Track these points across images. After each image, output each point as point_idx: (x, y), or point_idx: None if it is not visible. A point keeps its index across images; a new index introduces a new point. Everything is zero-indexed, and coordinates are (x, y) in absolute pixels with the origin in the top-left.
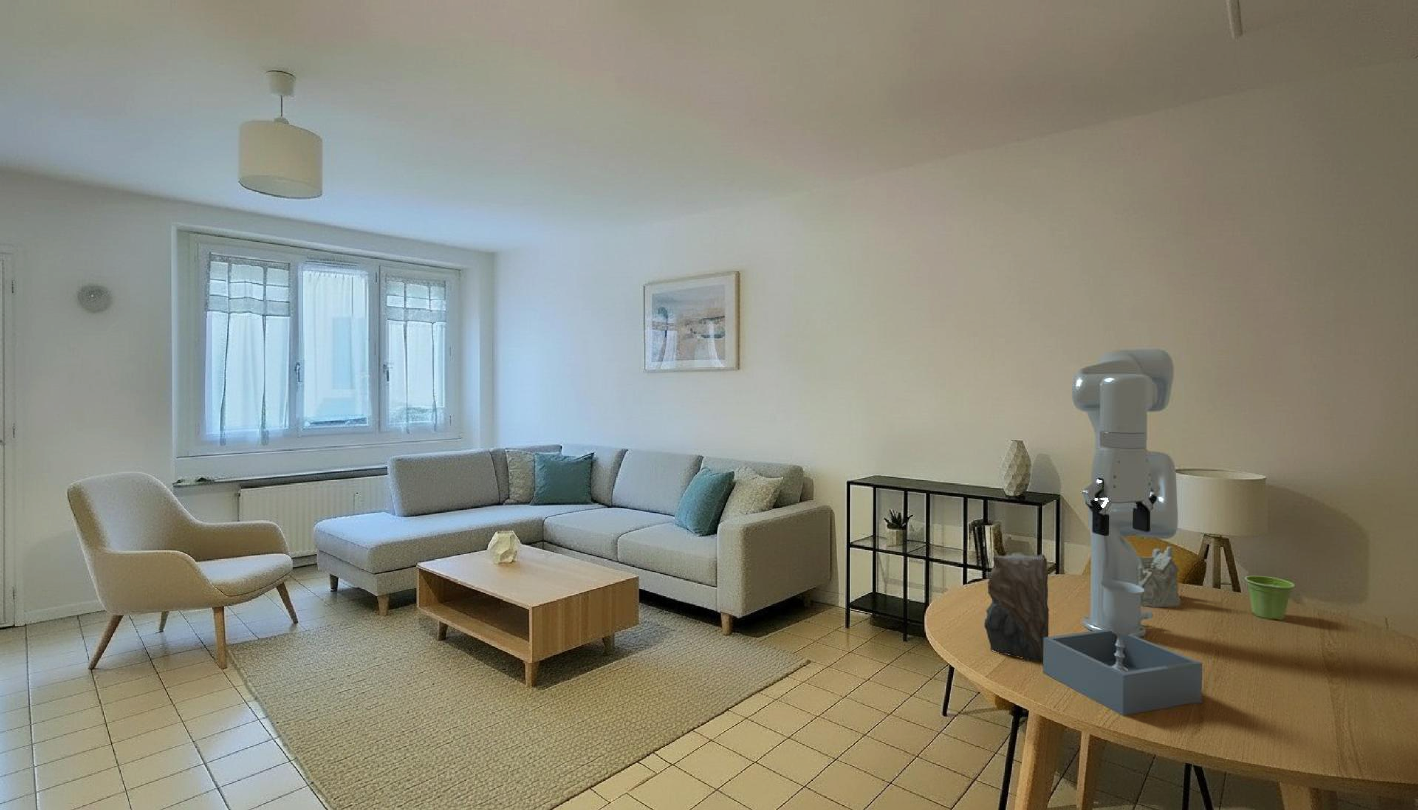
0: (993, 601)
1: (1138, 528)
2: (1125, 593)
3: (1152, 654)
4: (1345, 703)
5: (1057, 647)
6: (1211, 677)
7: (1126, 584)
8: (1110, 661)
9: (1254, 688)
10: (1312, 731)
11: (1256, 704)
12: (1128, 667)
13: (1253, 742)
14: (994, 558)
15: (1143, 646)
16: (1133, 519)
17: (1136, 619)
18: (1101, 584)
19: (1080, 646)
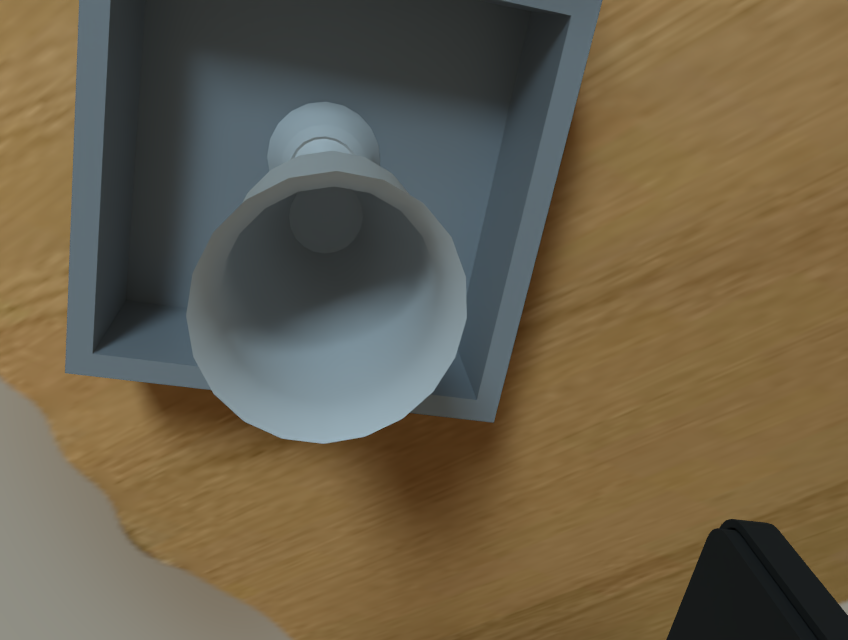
0: None
1: (692, 606)
2: (229, 394)
3: (508, 217)
4: (815, 519)
5: None
6: (712, 263)
7: (452, 268)
8: (491, 13)
9: (727, 370)
10: (537, 565)
11: (597, 431)
12: (495, 94)
13: (323, 544)
14: None
15: (525, 175)
16: (781, 625)
17: (324, 336)
18: (236, 211)
19: None
